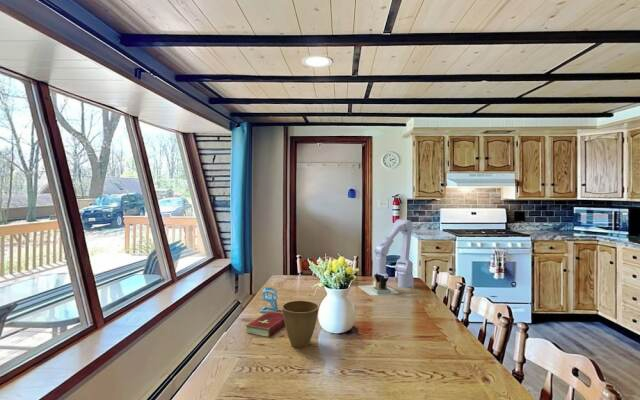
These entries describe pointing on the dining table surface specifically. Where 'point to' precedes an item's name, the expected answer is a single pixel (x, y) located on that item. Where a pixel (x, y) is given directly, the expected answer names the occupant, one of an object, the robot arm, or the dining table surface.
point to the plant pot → (300, 321)
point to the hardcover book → (266, 324)
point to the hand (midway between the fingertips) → (381, 287)
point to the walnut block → (378, 286)
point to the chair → (270, 300)
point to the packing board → (373, 291)
